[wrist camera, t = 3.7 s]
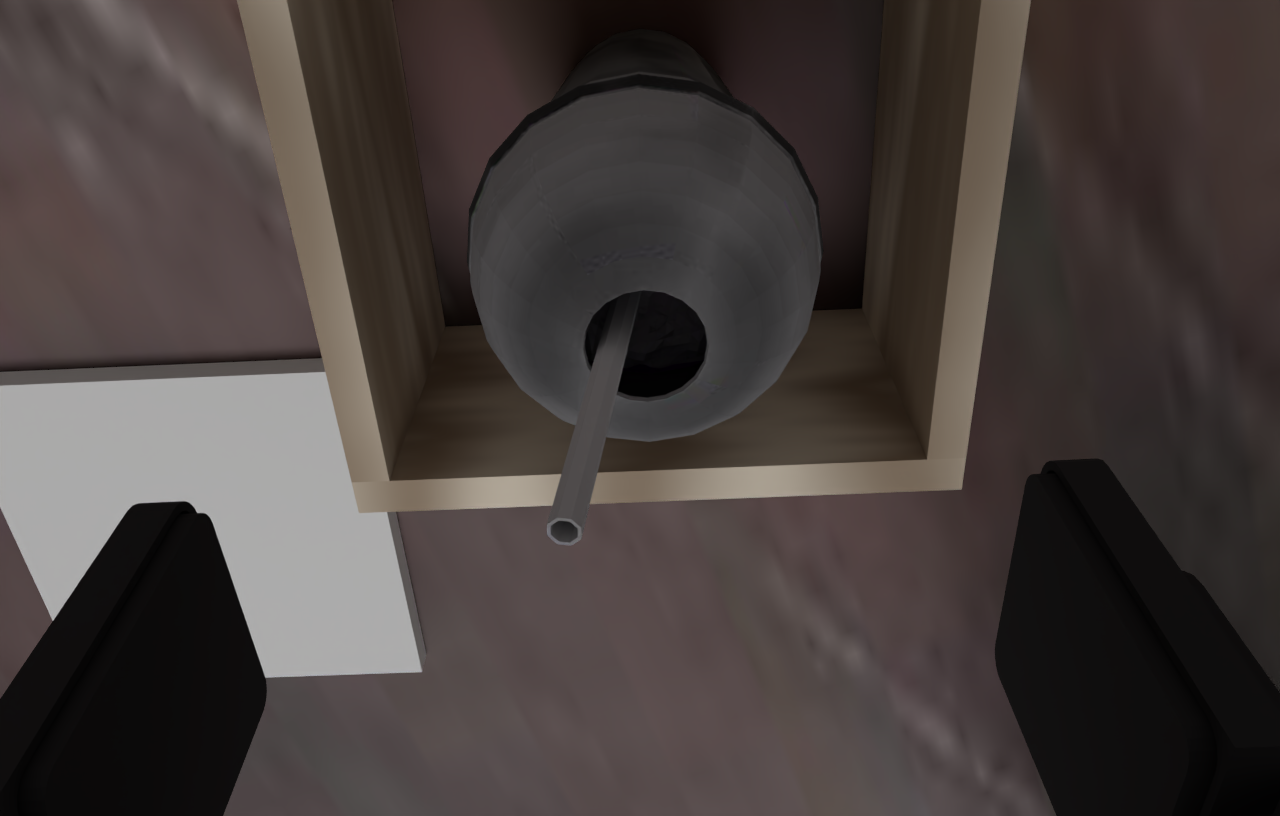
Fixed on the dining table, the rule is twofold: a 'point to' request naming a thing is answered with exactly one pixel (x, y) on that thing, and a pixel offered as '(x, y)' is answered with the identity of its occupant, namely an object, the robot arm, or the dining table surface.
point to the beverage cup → (642, 254)
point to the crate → (629, 469)
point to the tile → (215, 499)
